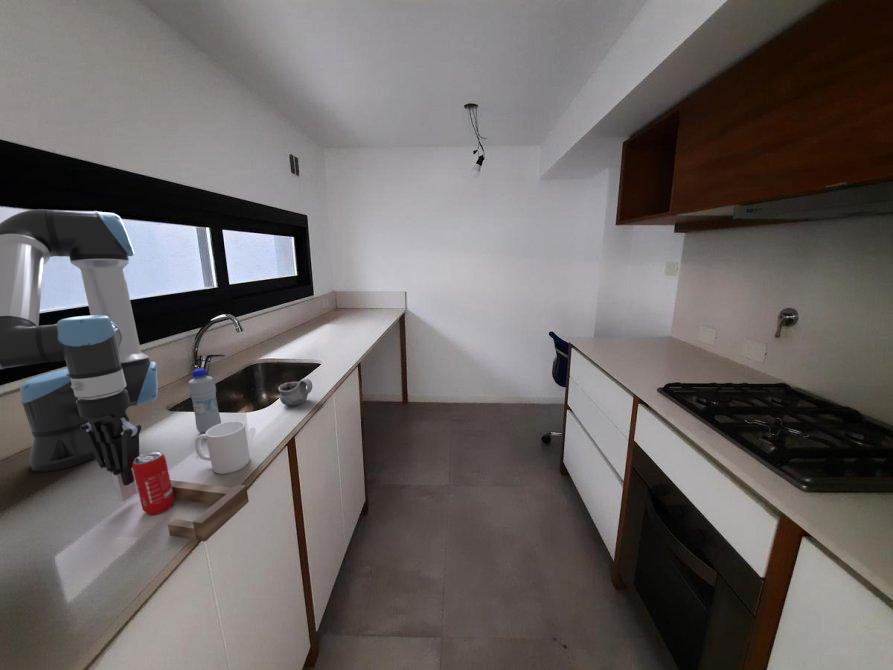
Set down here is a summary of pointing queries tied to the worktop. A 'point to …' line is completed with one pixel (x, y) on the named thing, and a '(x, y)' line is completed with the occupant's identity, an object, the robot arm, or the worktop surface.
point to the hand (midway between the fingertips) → (127, 496)
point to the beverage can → (153, 482)
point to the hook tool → (214, 517)
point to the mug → (295, 392)
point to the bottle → (204, 400)
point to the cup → (225, 447)
